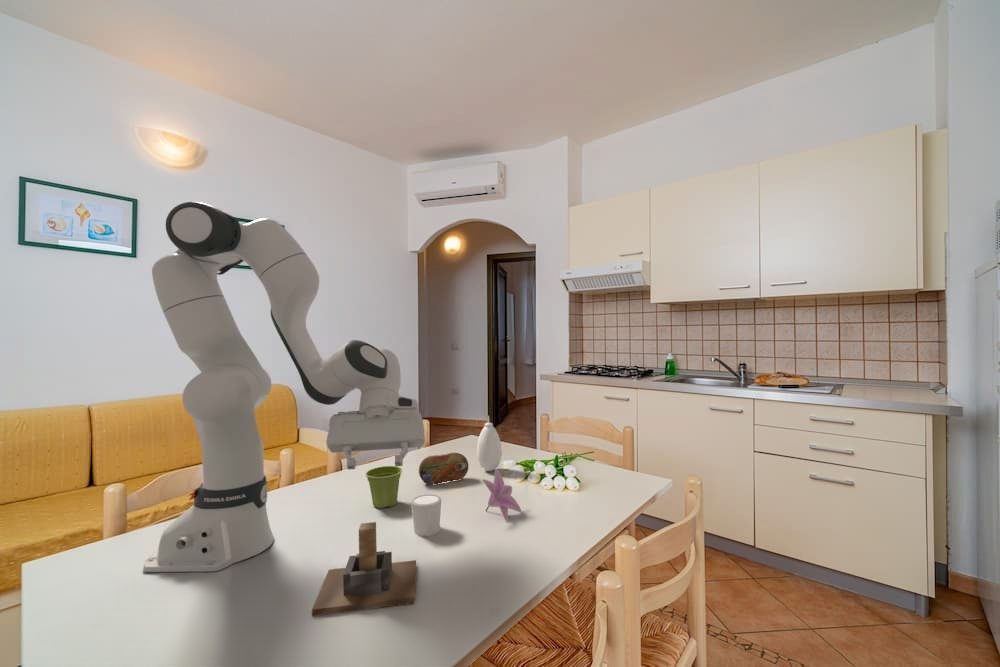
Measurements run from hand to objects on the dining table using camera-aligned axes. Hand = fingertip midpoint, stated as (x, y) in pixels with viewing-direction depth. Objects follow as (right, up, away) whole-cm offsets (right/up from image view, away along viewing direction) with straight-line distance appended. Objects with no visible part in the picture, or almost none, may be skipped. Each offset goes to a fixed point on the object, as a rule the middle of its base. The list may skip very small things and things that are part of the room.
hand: (374, 466), depth 88 cm
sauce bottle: (+22, -18, +52) cm, 59 cm away
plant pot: (-5, -18, +26) cm, 32 cm away
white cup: (+9, -18, +10) cm, 22 cm away
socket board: (+2, -18, -12) cm, 22 cm away
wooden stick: (+2, -17, -12) cm, 21 cm away
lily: (+26, -18, +18) cm, 36 cm away
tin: (+9, -18, +43) cm, 47 cm away
